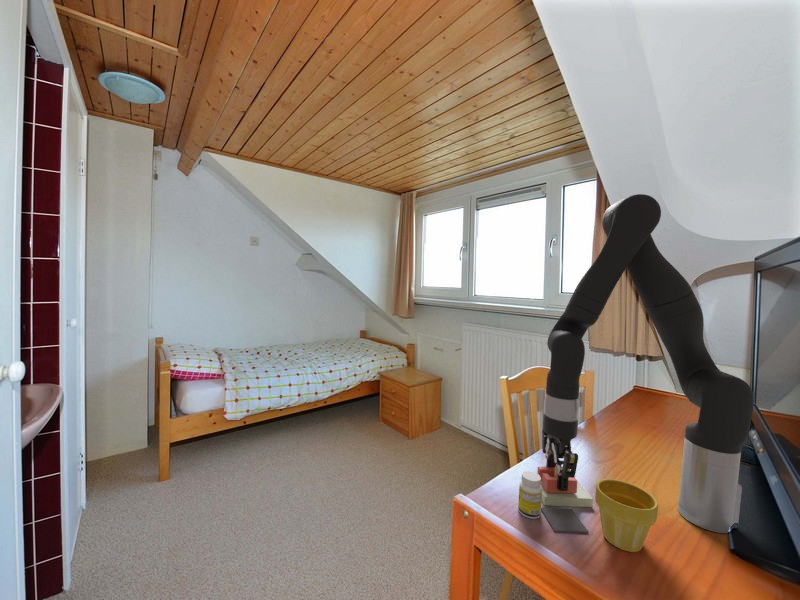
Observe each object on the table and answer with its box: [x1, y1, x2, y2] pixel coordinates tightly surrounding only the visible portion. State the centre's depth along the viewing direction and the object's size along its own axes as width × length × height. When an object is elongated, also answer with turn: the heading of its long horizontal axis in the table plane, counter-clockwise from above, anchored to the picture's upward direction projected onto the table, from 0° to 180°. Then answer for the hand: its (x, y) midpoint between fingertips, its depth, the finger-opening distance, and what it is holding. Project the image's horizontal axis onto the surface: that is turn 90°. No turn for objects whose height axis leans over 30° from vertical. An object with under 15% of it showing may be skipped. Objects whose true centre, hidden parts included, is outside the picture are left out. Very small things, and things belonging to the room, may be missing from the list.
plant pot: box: [595, 478, 659, 553], centre depth 70 cm, size 10×10×10 cm
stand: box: [541, 465, 594, 508], centre depth 84 cm, size 11×8×7 cm
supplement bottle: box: [517, 470, 542, 520], centre depth 77 cm, size 5×5×8 cm
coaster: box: [541, 507, 589, 534], centre depth 75 cm, size 7×7×1 cm
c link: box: [537, 466, 578, 493], centre depth 83 cm, size 7×6×3 cm
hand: (556, 482), depth 84 cm, fingers closed on c link, 5 cm apart
